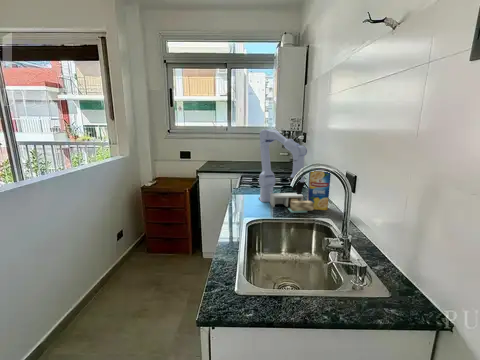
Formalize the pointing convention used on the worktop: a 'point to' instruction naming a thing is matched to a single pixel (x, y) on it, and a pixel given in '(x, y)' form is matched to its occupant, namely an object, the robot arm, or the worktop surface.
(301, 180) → the robot arm
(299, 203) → the beech bar
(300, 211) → the teal mat
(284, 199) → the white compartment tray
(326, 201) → the beverage box
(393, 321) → the worktop surface
